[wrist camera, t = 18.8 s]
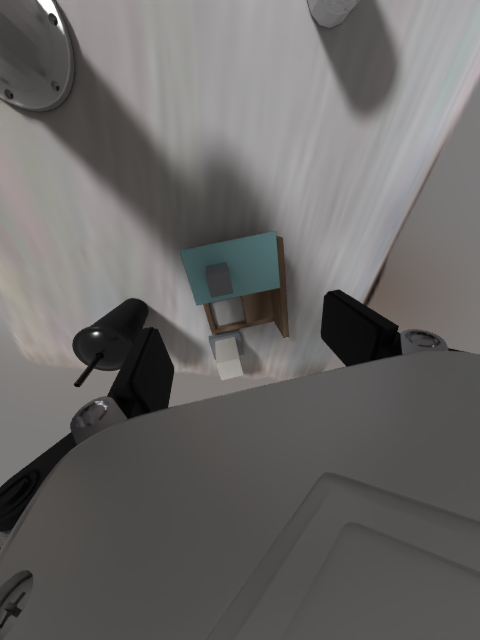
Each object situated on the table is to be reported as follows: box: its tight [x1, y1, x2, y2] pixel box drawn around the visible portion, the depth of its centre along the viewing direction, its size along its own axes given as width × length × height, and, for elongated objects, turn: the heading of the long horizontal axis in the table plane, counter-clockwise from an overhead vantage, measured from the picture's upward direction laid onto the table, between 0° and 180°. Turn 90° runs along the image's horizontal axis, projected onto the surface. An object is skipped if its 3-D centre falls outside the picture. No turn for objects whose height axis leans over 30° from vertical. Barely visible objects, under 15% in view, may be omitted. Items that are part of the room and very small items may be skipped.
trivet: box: [209, 330, 244, 360], centre depth 46 cm, size 7×6×2 cm
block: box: [215, 337, 243, 380], centre depth 42 cm, size 4×4×8 cm
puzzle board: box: [203, 236, 289, 338], centre depth 37 cm, size 15×18×8 cm
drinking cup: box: [72, 298, 148, 387], centre depth 31 cm, size 8×8×20 cm
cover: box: [180, 231, 280, 305], centre depth 28 cm, size 14×8×6 cm, turn 100°
